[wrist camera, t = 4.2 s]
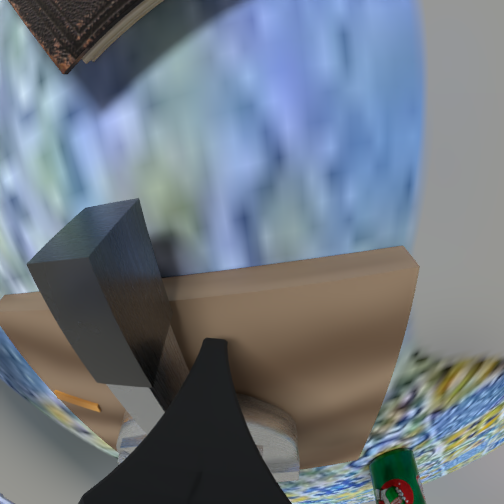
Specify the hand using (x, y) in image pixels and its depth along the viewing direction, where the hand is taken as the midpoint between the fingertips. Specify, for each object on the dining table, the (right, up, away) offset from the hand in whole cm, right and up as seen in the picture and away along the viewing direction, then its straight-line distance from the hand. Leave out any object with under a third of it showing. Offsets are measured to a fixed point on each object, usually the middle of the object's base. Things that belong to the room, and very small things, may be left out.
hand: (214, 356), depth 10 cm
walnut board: (-1, -6, +6) cm, 9 cm away
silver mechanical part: (-2, -3, +3) cm, 4 cm away
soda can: (+16, -18, +14) cm, 28 cm away
